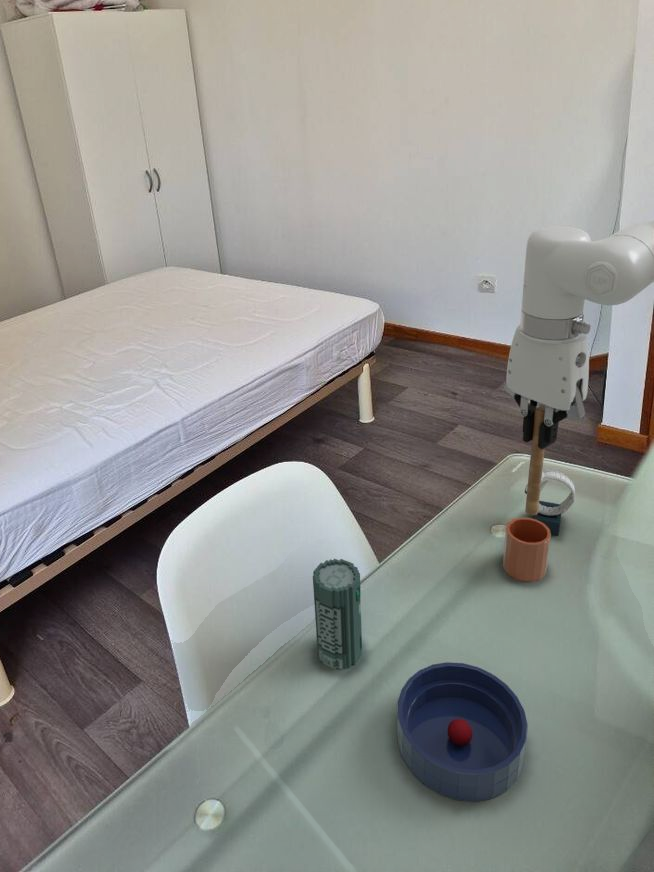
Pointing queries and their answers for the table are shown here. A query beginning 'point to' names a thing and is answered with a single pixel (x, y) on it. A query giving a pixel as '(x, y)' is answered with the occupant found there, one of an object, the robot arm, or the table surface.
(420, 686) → the bowl
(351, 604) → the can
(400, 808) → the table surface
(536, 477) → the stick
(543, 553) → the crock
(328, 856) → the table surface
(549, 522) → the watch
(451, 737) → the ball
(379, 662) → the table surface
